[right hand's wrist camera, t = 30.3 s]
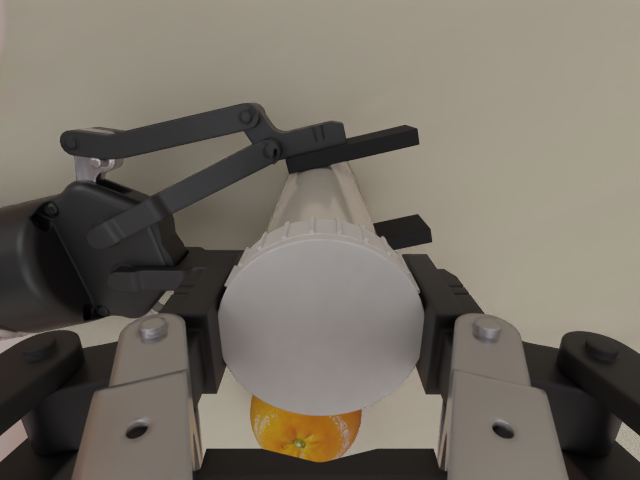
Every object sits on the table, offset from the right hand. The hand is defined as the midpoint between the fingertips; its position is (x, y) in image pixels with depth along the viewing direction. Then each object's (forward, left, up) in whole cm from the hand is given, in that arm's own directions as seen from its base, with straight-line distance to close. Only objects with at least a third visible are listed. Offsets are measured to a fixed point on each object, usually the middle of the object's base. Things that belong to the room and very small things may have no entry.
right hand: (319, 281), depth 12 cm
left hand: (-1, -5, -9) cm, 11 cm away
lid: (0, 0, +3) cm, 3 cm away
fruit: (-15, +9, -16) cm, 24 cm away
